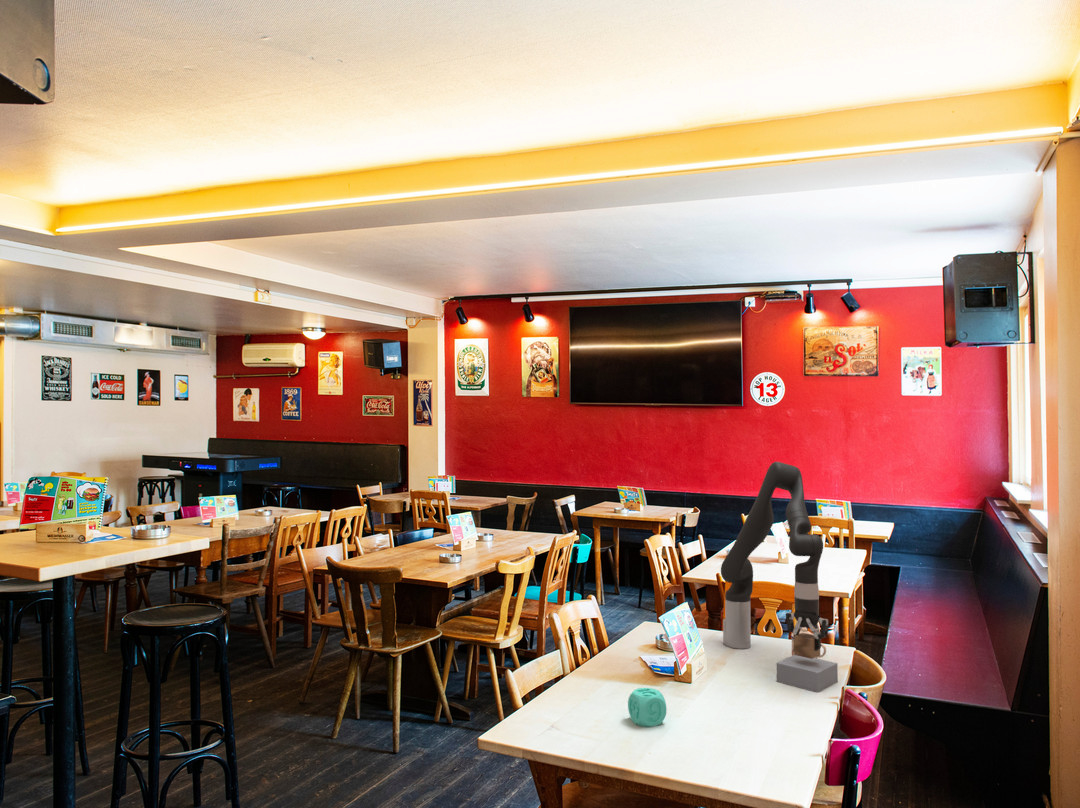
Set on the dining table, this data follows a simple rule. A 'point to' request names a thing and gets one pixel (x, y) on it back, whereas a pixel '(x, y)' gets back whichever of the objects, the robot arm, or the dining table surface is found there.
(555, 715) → the dining table surface
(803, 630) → the teacup with lid
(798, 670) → the slate plinth
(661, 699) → the decorative dice
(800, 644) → the walnut cube
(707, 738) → the dining table surface
